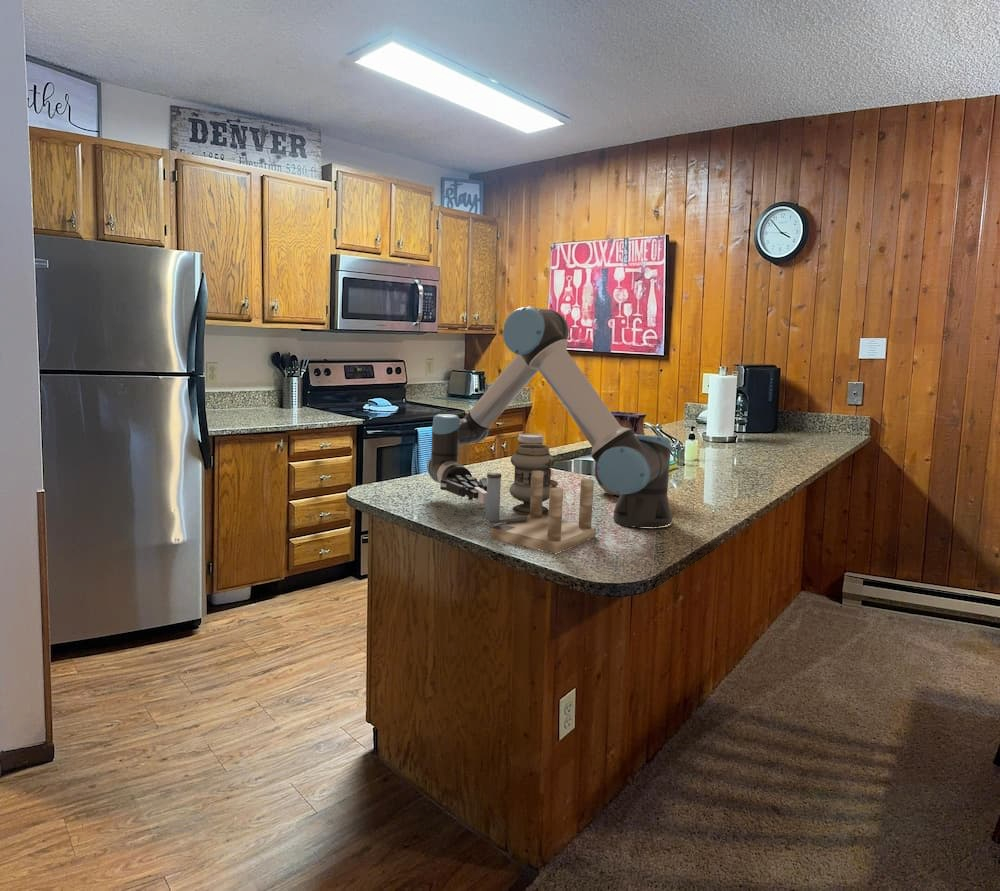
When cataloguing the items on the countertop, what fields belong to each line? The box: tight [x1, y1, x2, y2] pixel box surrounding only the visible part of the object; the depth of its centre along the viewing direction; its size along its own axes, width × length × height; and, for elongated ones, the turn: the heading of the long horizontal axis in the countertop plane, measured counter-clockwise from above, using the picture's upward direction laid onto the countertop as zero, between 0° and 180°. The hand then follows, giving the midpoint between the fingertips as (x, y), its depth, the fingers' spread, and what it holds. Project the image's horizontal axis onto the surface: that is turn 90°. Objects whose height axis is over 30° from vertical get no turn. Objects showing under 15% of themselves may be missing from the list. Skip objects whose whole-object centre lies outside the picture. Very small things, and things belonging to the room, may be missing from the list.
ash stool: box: [490, 470, 597, 554], centre depth 167 cm, size 18×18×14 cm
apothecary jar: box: [508, 444, 555, 516], centre depth 192 cm, size 12×12×18 cm
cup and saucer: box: [549, 468, 559, 488], centre depth 223 cm, size 12×12×6 cm
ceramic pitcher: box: [593, 410, 647, 497], centre depth 218 cm, size 18×21×25 cm
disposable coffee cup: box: [517, 433, 545, 445], centre depth 254 cm, size 10×10×12 cm
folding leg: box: [485, 472, 528, 525], centre depth 170 cm, size 11×3×12 cm, turn 116°
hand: (485, 498), depth 169 cm, fingers closed
